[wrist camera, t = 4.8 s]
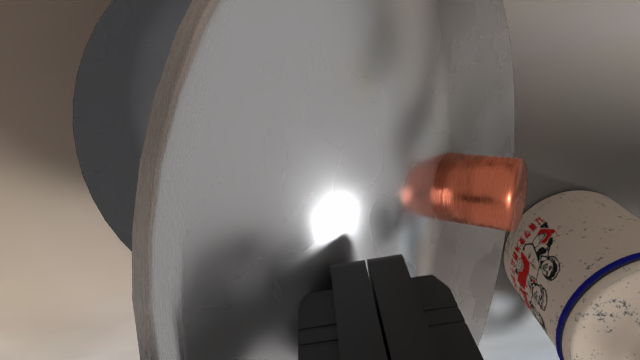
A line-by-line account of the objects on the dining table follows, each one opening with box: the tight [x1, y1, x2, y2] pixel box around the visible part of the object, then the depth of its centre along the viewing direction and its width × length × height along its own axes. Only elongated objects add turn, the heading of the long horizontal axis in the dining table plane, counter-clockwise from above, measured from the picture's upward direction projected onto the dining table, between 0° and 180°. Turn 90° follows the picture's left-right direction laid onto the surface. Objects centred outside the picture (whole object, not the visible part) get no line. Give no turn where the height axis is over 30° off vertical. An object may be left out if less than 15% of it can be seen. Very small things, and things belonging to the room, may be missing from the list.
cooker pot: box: [73, 0, 192, 251], centre depth 26 cm, size 16×24×10 cm, turn 9°
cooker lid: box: [132, 0, 527, 360], centre depth 14 cm, size 17×17×3 cm
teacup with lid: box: [504, 190, 640, 360], centre depth 31 cm, size 12×9×12 cm
